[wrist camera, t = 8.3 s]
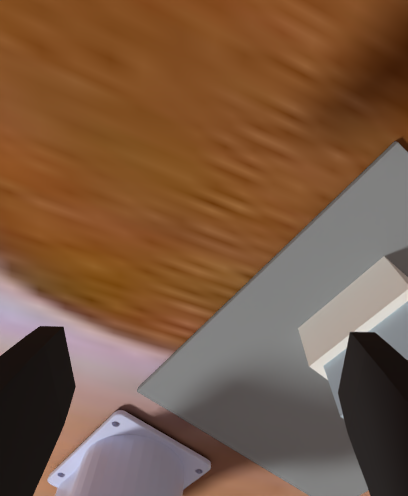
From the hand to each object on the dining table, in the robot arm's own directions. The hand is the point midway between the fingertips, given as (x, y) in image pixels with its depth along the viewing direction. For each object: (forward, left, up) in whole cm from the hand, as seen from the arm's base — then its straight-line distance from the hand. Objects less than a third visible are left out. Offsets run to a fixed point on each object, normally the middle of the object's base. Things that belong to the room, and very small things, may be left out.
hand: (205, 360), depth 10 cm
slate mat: (-2, -13, -10) cm, 17 cm away
